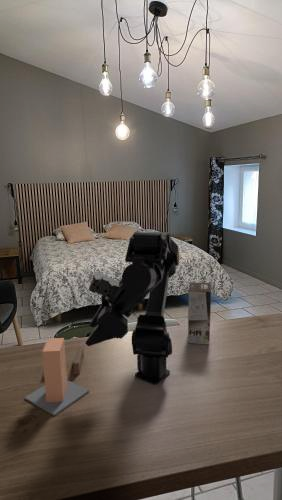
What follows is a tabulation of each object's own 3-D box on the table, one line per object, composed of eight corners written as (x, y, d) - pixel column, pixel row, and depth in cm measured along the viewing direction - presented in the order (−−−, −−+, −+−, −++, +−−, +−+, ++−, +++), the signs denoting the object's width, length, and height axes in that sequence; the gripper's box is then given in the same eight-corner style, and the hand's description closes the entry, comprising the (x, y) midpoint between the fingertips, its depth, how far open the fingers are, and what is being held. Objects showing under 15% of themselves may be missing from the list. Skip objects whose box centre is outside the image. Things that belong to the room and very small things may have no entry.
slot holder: (83, 356, 95) (83, 345, 95) (79, 374, 87) (78, 363, 86) (55, 357, 95) (54, 347, 94) (48, 375, 86) (47, 364, 86)
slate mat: (88, 391, 79) (88, 390, 79) (54, 416, 71) (54, 414, 71) (59, 377, 85) (59, 376, 85) (24, 398, 77) (24, 397, 77)
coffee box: (209, 345, 100) (211, 291, 97) (187, 343, 102) (187, 290, 98) (210, 331, 109) (211, 282, 106) (189, 330, 110) (189, 281, 107)
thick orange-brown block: (67, 385, 81) (64, 337, 79) (63, 401, 75) (59, 350, 73) (51, 386, 81) (48, 338, 79) (46, 402, 75) (42, 351, 73)
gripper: (112, 252, 83) (68, 297, 85) (108, 272, 65) (53, 329, 67) (145, 282, 85) (101, 326, 87) (150, 311, 67) (95, 365, 69)
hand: (89, 334), depth 77 cm, fingers open, 9 cm apart
